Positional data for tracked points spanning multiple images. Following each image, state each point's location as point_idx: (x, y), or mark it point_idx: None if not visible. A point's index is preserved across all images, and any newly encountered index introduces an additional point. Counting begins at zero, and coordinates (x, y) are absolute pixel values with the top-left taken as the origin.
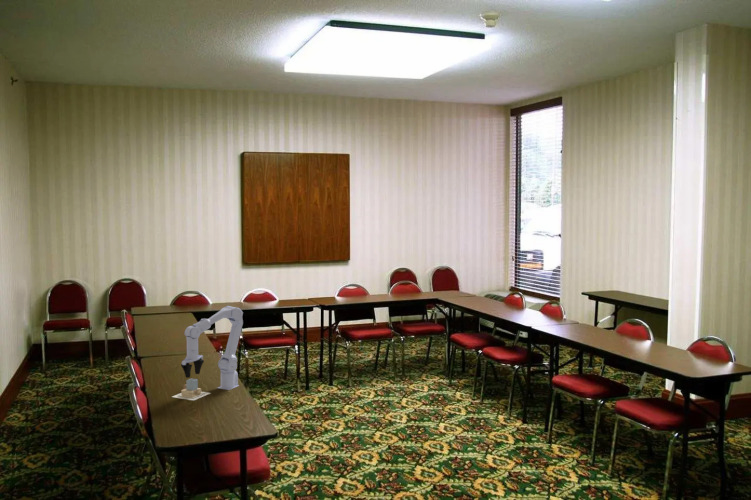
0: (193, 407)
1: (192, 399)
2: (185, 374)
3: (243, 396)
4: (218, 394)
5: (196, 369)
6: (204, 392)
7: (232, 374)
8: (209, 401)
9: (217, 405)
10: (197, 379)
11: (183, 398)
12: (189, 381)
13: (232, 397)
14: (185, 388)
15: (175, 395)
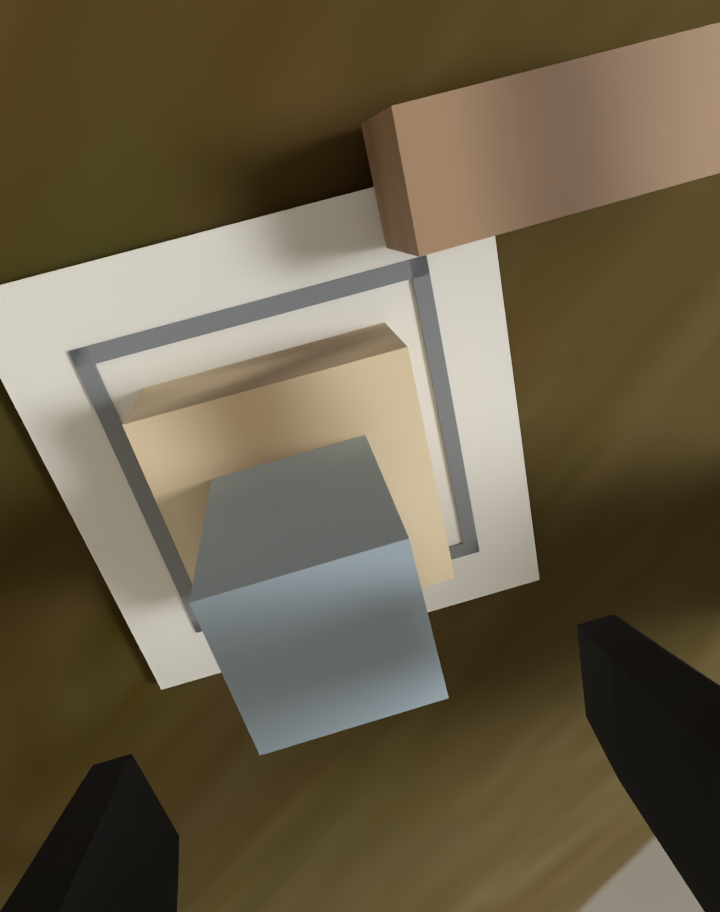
0: (27, 842)
1: (171, 649)
2: (40, 875)
3: (643, 832)
4: (570, 640)
5: (676, 786)
6: (510, 497)
7: None
8: (305, 778)
9: (272, 906)
10: (438, 698)
11: (92, 530)
12: (227, 665)
13: (561, 802)
14: (384, 185)
15: (70, 279)
